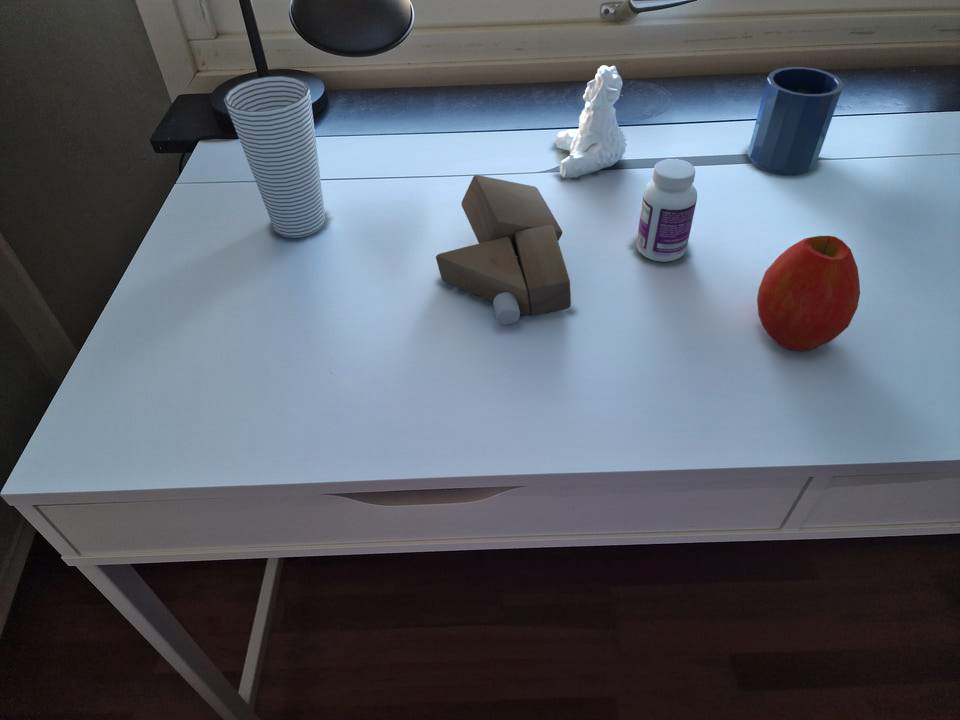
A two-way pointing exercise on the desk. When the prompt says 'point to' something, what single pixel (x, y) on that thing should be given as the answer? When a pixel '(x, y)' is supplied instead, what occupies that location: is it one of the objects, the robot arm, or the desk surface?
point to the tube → (793, 120)
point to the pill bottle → (667, 211)
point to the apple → (809, 293)
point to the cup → (280, 150)
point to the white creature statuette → (595, 128)
